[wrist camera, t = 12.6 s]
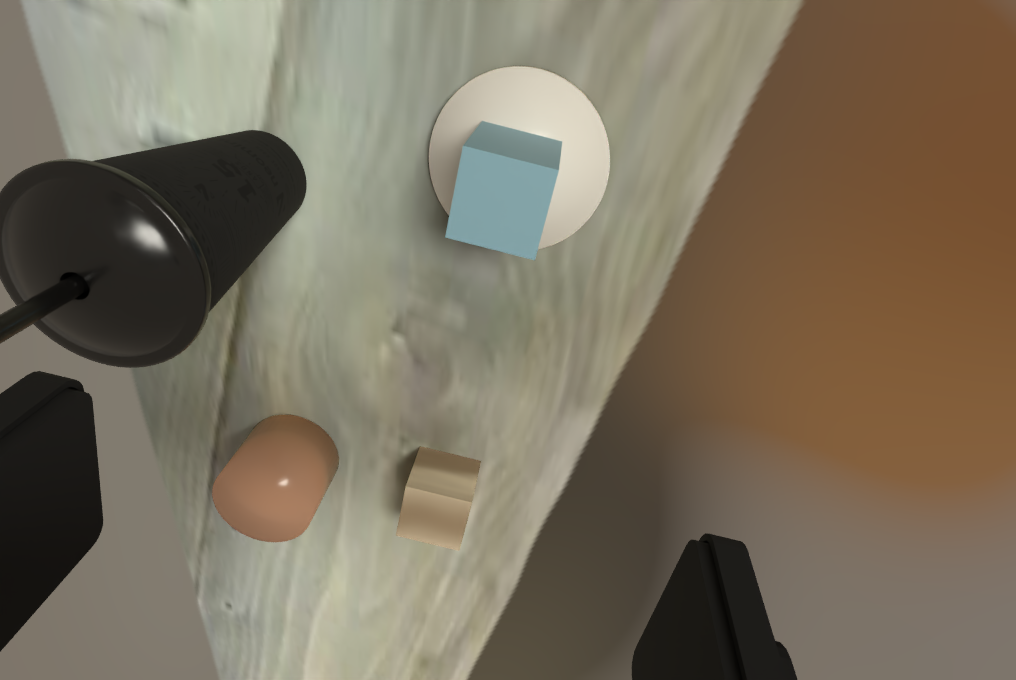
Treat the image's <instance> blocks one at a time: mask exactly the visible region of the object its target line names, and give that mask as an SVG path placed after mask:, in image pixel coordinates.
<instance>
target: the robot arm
mask: <svg viewBox="0 0 1016 680" xmlns="http://www.w3.org/2000/svg"><path fill="white" fill-rule="evenodd" d="M102 526H103V513H102V502H101V491H100V480H99V468H98V457H97V446H96V435H95V425H94V413H93V402H92V397H91V396H90V394H89V393H86V392H84V389H83V385H82V384H81V383H80V382H79V381H77V380H74V379H70V378H66V377H62V376H57V375H53V374H49V373H45V372H41V371H38V372H33V373H31V374H29V375H27V376H25V377H24V378H22V379H21V380H20V381H18V382H17V383H15V384H14V385H12V386H11V387H10V388H8V389H7V390H5V391H4V392H2V393H1V394H0V651H1V650H2V649H3V648H4V647H5V646H6V645H7V643H8V642H9V641H10V640H11V639H12V638H13V637H14V635H15V634H16V633H17V632H18V631H19V630H20V629H21V627H22V626H23V625H24V624H25V623H26V622H27V620H28V619H29V618H30V617H31V616H32V615H33V614H34V613H35V611H36V610H37V609H38V608H39V607H40V606H41V605H42V603H43V602H44V601H45V600H46V599H47V598H48V596H49V595H50V594H51V593H52V592H53V591H54V590H55V589H56V587H57V586H58V585H59V584H60V583H61V582H62V581H63V579H64V578H65V577H66V576H67V575H68V574H69V573H70V571H71V570H72V569H73V568H74V567H75V566H76V565H77V563H78V562H79V561H80V560H81V559H82V558H83V557H84V555H85V554H86V553H87V552H88V551H89V550H90V549H91V547H92V546H93V545H94V544H95V542H96V541H97V539H98V537H99V535H100V533H101V530H102ZM632 680H797V677H796V674H795V671H794V667H793V664H792V661H791V658H790V656H789V654H788V652H787V650H786V648H785V647H784V646H783V645H782V644H781V643H780V642H777V641H775V639H774V636H773V633H772V629H771V626H770V623H769V620H768V616H767V613H766V610H765V606H764V603H763V600H762V596H761V593H760V590H759V586H758V583H757V580H756V576H755V573H754V570H753V567H752V563H751V560H750V557H749V553H748V550H747V548H746V546H745V544H744V543H743V542H741V541H737V540H733V539H729V538H725V537H720V536H716V535H712V534H704V535H703V536H702V537H701V538H700V540H699V541H696V540H690V541H689V542H688V544H687V545H686V547H685V549H684V551H683V553H682V555H681V557H680V559H679V561H678V563H677V565H676V568H675V569H674V571H673V573H672V575H671V577H670V580H669V582H668V584H667V586H666V588H665V590H664V592H663V594H662V596H661V598H660V600H659V602H658V604H657V606H656V608H655V610H654V612H653V614H652V616H651V618H650V620H649V622H648V624H647V626H646V628H645V630H644V632H643V634H642V636H641V638H640V640H639V642H638V644H637V646H636V649H635V651H634V655H633V661H632Z"/></svg>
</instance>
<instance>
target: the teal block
mask: <svg viewBox="0 0 1016 680" xmlns="http://www.w3.org/2000/svg"><path fill="white" fill-rule="evenodd" d="M561 148H562V141H559V140H555V139H551V138H547V137H543V136H539V135H535V134H531V133H528V132H524V131H520V130H516V129H512V128H508V127H504V126H500V125H497V124H493V123H489V122H485V121H482V122H481V123H480V124H479V126H478V127H477V128H476V129H475V131H474V132H473V133H472V135H471V136H470V137H469V138H468V140H467V141H466V142H465V144H464V145H463V148H462V153H461V158H460V163H459V169H458V174H457V179H456V184H455V189H454V194H453V199H452V204H451V210H450V215H449V220H448V225H447V230H446V235H445V238H449V239H453V240H457V241H461V242H465V243H469V244H473V245H477V246H481V247H485V248H488V249H492V250H496V251H500V252H504V253H508V254H512V255H516V256H520V257H524V258H528V259H532V260H535V258H536V254H537V250H538V247H539V243H540V239H541V235H542V232H543V228H544V224H545V220H546V217H547V213H548V209H549V205H550V202H551V198H552V194H553V191H554V187H555V183H556V179H557V176H558V172H559V165H560V157H561Z"/></svg>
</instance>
